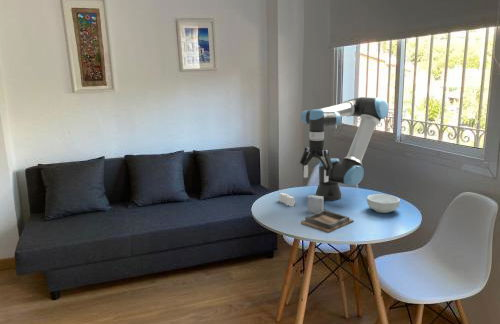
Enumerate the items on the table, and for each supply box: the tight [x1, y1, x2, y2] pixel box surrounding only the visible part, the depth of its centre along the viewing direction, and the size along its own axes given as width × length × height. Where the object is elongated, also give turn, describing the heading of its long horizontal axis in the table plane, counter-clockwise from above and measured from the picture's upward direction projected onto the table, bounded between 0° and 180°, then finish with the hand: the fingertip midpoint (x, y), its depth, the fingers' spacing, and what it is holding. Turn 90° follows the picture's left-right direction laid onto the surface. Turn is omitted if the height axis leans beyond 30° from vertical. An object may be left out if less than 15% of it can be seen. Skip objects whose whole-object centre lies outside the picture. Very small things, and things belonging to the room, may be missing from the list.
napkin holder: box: [278, 192, 296, 207], centre depth 232 cm, size 15×11×6 cm
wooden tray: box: [300, 209, 354, 234], centre depth 202 cm, size 20×17×3 cm
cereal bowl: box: [366, 193, 401, 214], centre depth 217 cm, size 17×17×7 cm
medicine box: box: [306, 194, 325, 214], centre depth 216 cm, size 8×4×9 cm, turn 65°
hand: (315, 179), depth 213 cm, fingers open, 13 cm apart
